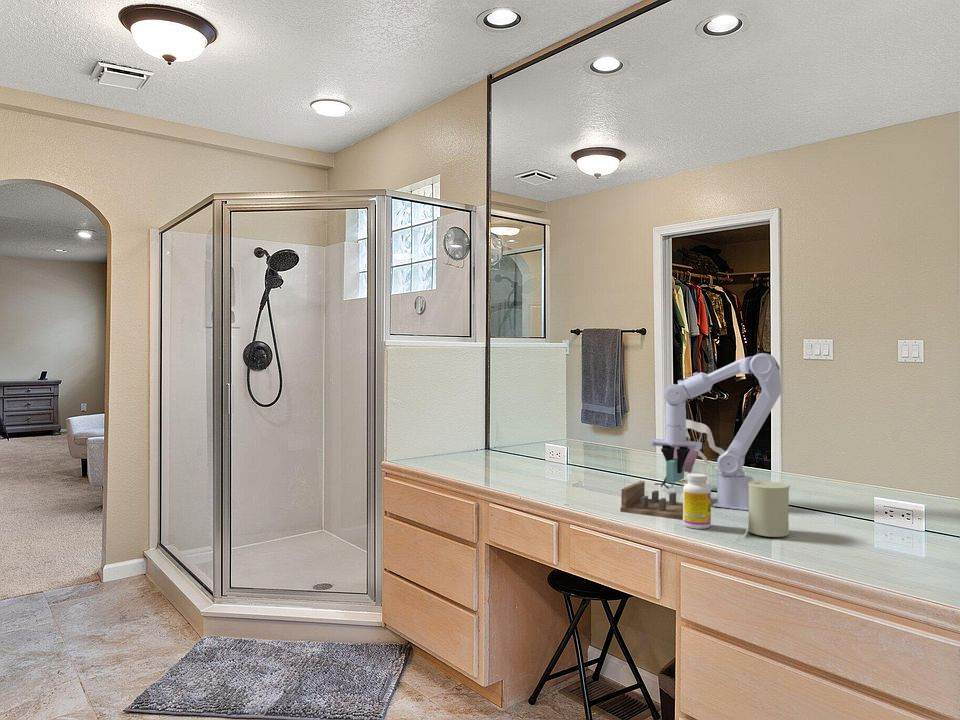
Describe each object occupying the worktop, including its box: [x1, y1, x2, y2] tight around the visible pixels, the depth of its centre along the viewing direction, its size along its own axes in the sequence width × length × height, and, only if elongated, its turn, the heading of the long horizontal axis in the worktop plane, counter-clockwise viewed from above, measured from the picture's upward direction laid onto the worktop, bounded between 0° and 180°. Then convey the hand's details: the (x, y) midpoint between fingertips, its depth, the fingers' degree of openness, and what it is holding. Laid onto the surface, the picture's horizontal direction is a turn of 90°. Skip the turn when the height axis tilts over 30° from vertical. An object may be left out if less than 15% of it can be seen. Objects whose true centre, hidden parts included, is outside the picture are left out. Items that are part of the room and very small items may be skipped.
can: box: [747, 480, 790, 538], centre depth 166 cm, size 9×9×12 cm
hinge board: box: [619, 480, 683, 521], centre depth 189 cm, size 18×16×6 cm
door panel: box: [665, 458, 685, 484], centre depth 200 cm, size 2×10×6 cm, turn 146°
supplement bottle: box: [682, 472, 712, 530], centre depth 171 cm, size 7×7×13 cm
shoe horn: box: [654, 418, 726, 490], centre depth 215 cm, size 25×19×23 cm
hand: (675, 472), depth 200 cm, fingers closed on door panel, 2 cm apart
